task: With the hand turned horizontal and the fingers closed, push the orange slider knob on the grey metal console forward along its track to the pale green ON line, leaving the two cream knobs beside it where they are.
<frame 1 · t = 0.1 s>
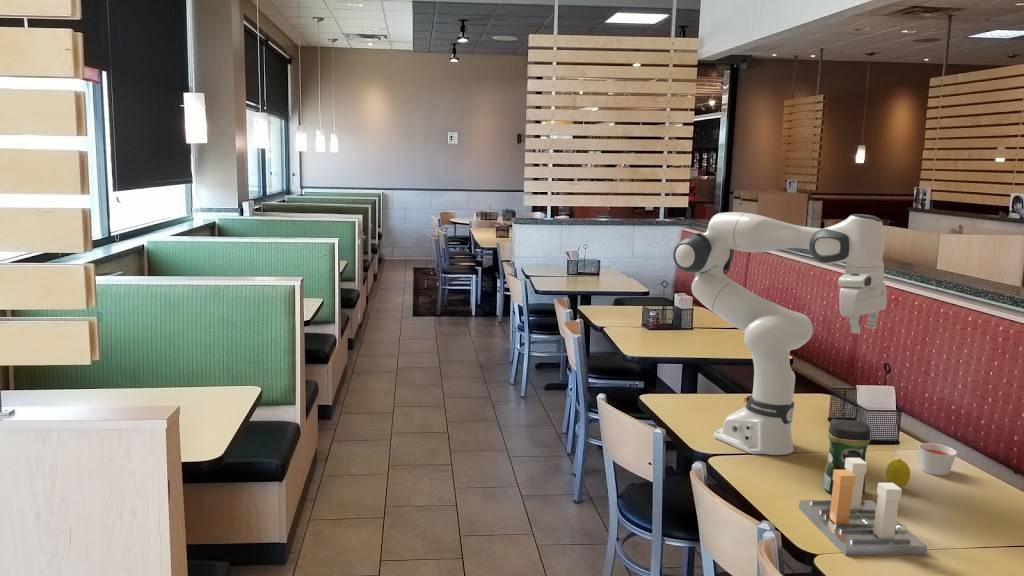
hand: (863, 330, 205), 39 cm above the table, tool pointing down, fingers open, 8 cm apart
cream knob right: (886, 510, 170), point 8 cm above the table, slide at 6.5 cm
orange knob: (841, 496, 177), point 8 cm above the table, slide at 0.0 cm
coffee jar: (842, 492, 199), on the table
lemon: (895, 489, 202), on the table
console: (858, 530, 178), on the table
cream knob left: (853, 483, 184), point 8 cm above the table, slide at 6.5 cm
white ramekin: (934, 471, 215), on the table
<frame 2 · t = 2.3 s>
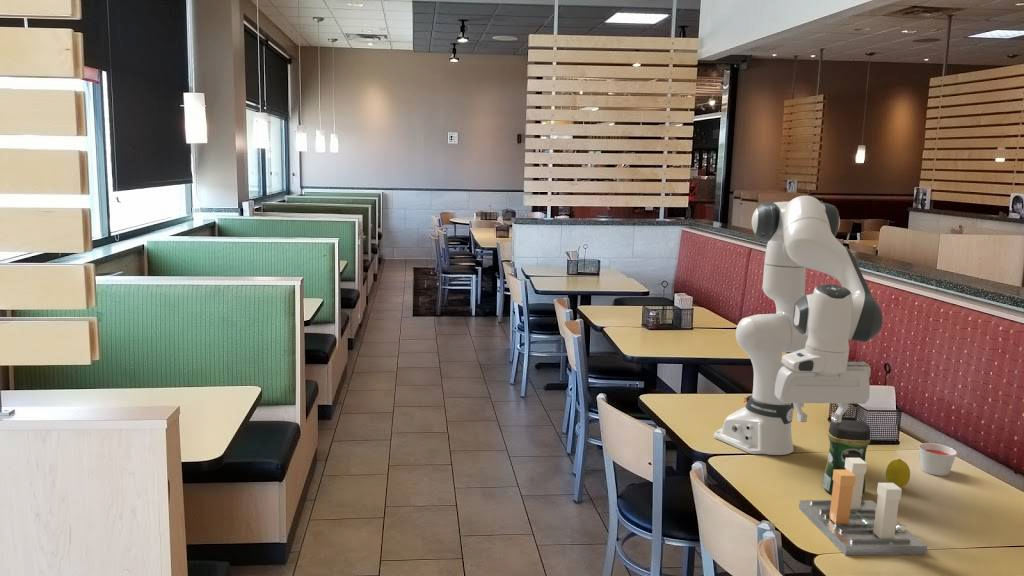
hand: (818, 421, 174), 25 cm above the table, tool pointing down, fingers open, 6 cm apart
nothing on the table moved.
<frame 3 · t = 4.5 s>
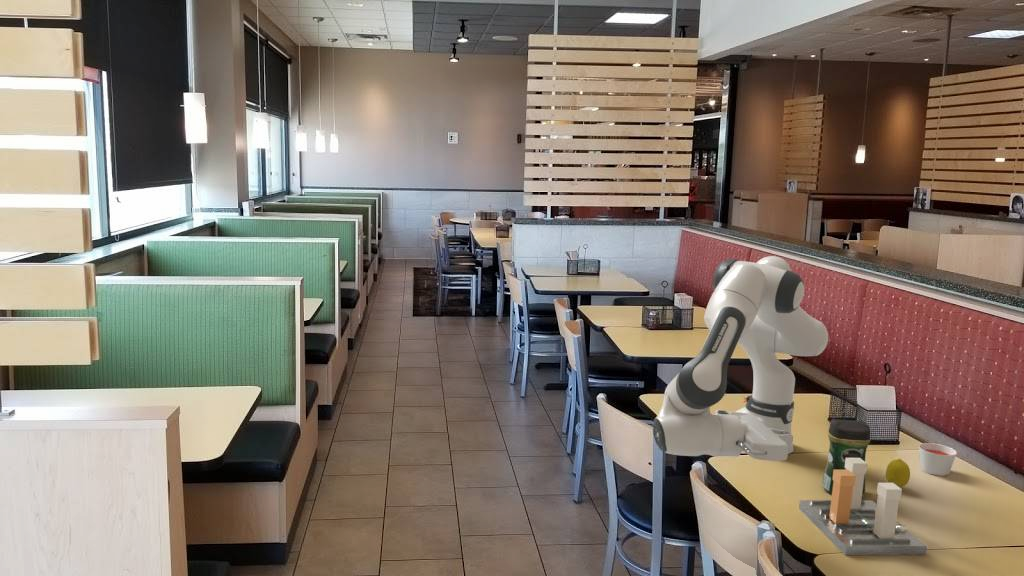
hand: (790, 436, 173), 22 cm above the table, tool horizontal, fingers closed
nothing on the table moved.
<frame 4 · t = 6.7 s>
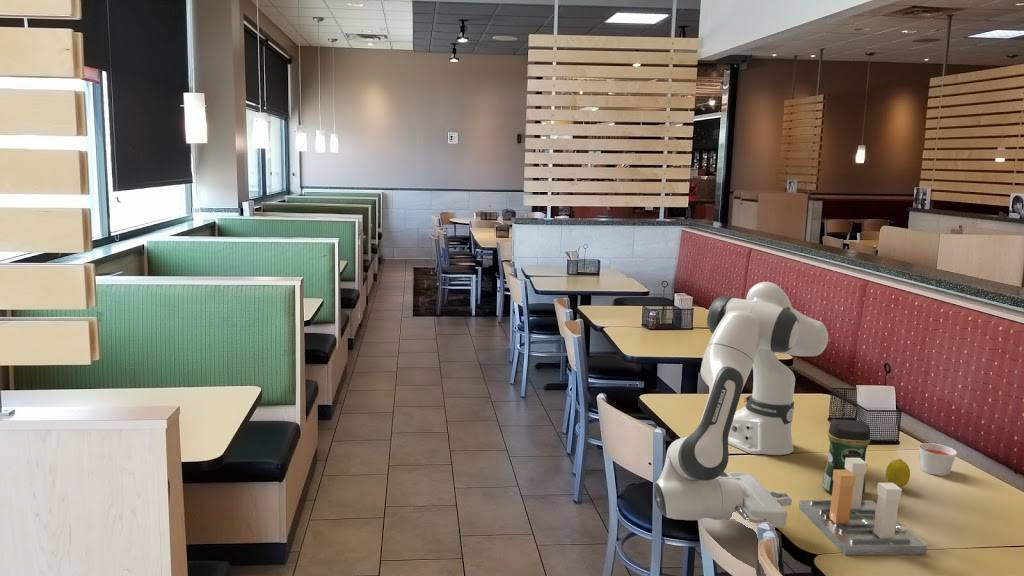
hand: (788, 499, 176), 7 cm above the table, tool horizontal, fingers closed
nothing on the table moved.
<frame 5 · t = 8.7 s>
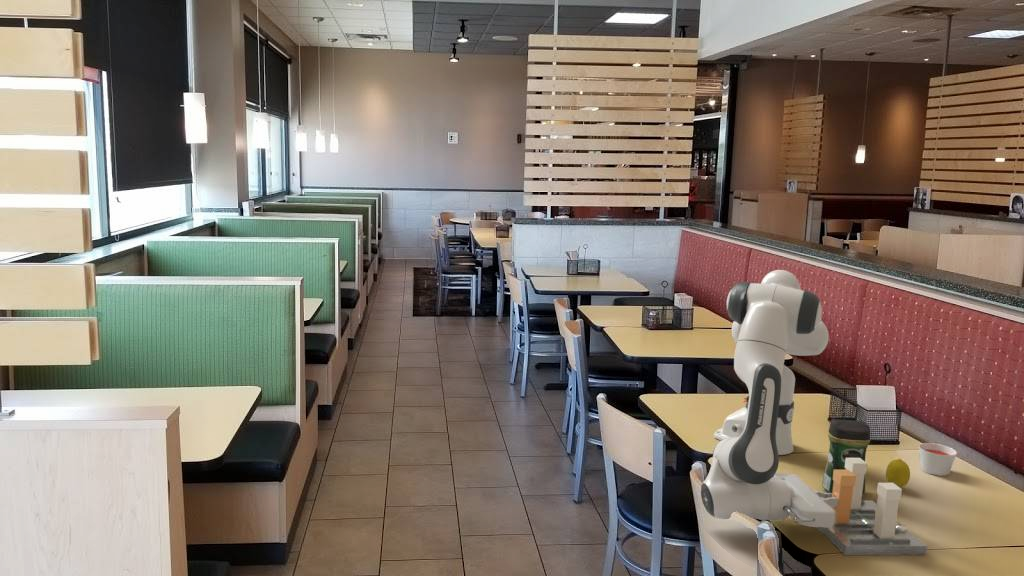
hand: (834, 499, 177), 7 cm above the table, tool horizontal, fingers closed, pressing on orange knob
orange knob: (841, 496, 177), point 8 cm above the table, slide at 0.1 cm, touching gripper
everything else where it was.
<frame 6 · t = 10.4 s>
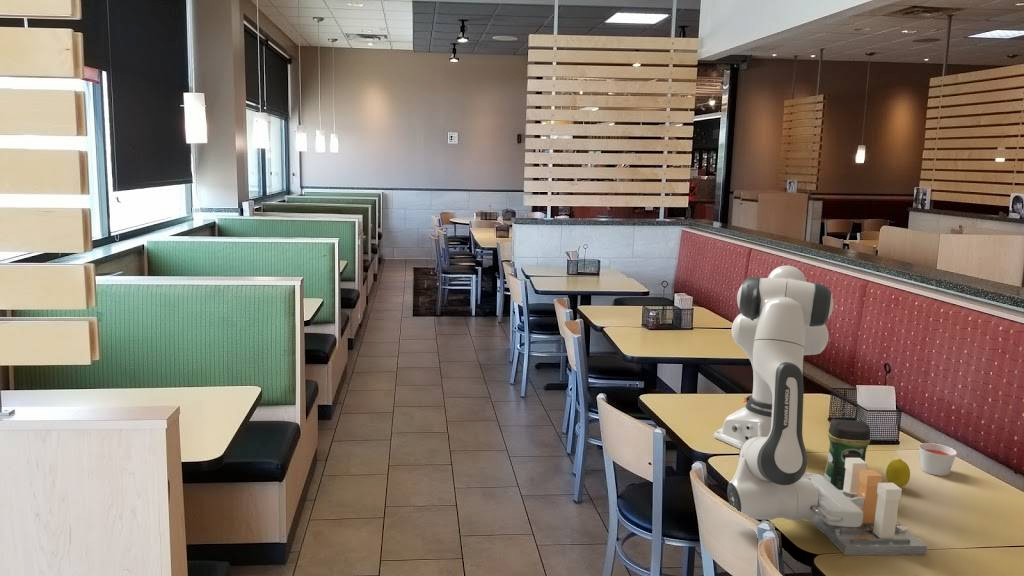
hand: (861, 499, 177), 7 cm above the table, tool horizontal, fingers closed, pressing on orange knob
orange knob: (867, 496, 177), point 8 cm above the table, slide at 6.1 cm, touching gripper
everything else where it was.
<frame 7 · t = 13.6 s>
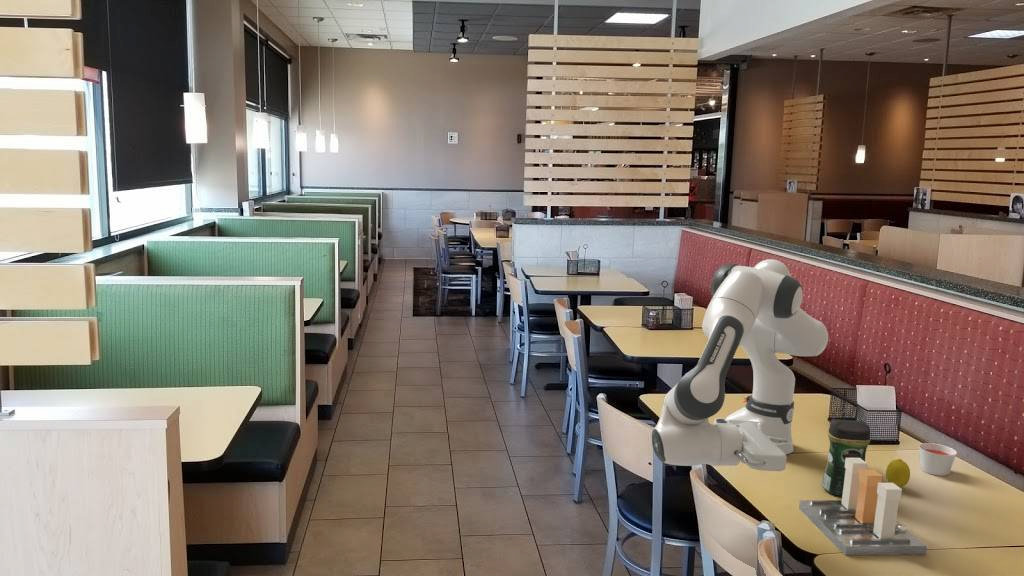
hand: (788, 444, 173), 20 cm above the table, tool horizontal, fingers closed
orange knob: (867, 496, 177), point 8 cm above the table, slide at 6.1 cm
everything else where it was.
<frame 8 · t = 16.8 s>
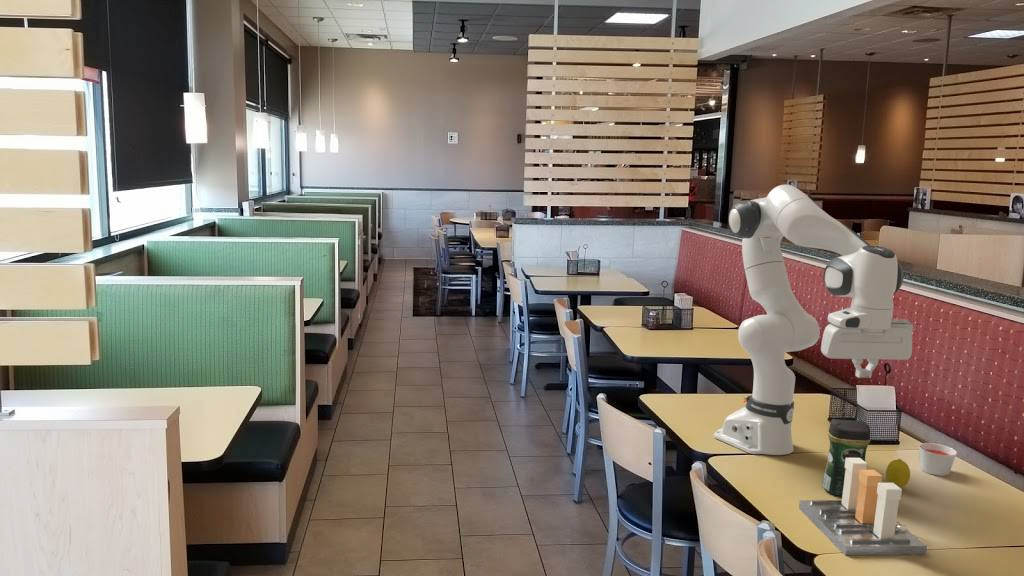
hand: (863, 377, 182), 33 cm above the table, tool pointing down, fingers closed
nothing on the table moved.
at the end: orange knob slide at 6.1 cm; cream knob left slide at 6.5 cm; cream knob right slide at 6.5 cm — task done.
